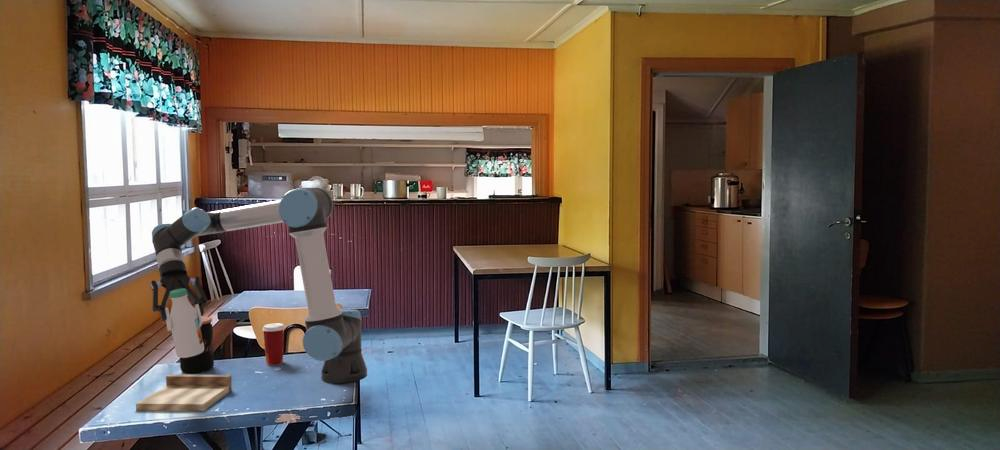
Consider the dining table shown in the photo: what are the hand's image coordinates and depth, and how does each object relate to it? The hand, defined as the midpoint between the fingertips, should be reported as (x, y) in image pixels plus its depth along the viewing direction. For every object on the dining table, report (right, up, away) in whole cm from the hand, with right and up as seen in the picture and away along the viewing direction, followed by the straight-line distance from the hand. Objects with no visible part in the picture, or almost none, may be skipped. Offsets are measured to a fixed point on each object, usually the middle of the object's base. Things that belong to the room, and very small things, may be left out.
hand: (185, 326), depth 191 cm
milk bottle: (0, -9, +3) cm, 10 cm away
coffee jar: (-13, -21, +35) cm, 43 cm away
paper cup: (+12, -20, +43) cm, 49 cm away
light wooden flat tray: (-2, -23, +4) cm, 24 cm away
